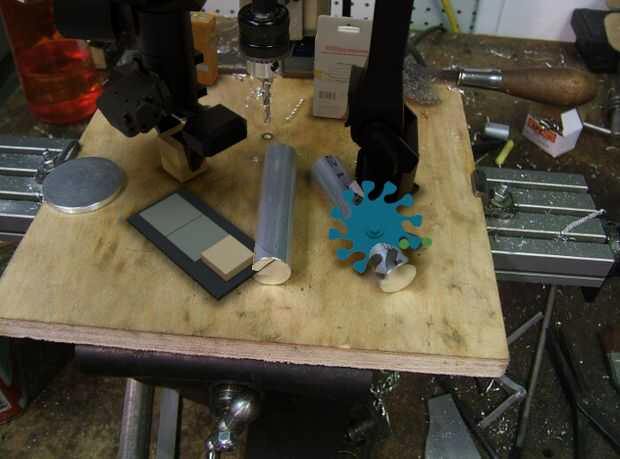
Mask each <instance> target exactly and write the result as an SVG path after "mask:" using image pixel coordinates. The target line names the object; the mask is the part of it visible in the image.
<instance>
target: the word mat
mask: <svg viewBox="0 0 620 459" xmlns="http://www.w3.org/2000/svg"><path fill="white" fill-rule="evenodd" d="M126 221H127V222H128V223H129V224H130V225H131V226H132V227H134V228H135V230H137V231H138V232H139V233H140V234H141V235H142V236H144V237H145V238H146V239H147V240H148V241H150V243H152V244H153V245H154V246H155V247H156V248H157V249H159V251H161V252H162V253H163V254H164V255H166V256H167V257H168V258H169V259H170V260H171V261H172V262H173V263H175V264H176V265H177V266H178V267H179V268H180V269H181V270H183V272H185V273H186V274H187V275H188V276H189V277H190V278H191V279H193V280H194V281H195V282H196V283H197V284H198V285H200V286H201V287H202V288H203V289H204V290H205V291H206V292H208V293H209V294H210V295H211V296H212V297H213V298H214V299H216V300H217V301H219V300H221V299H222V298H223V297H225V296H226V295H228V294H229V293H230V292H232V291H233V290H235V289H237V287H239V286H241V285H242V284H243V283H245V282H246V281H247V280H249V279H250V278H252V277H253V276H254V275H256V274H257V273H259V271H255V270H252V265H253V256H254V247H255V242H256V240H254V239H253V238H252V237H250V236H249V235H248V234H246V233H245V232H243V231H242V230H241V229H240V228H238V227H237V226H236V225H234V224H233V223H232V222H231V221H229V220H228V219H227V218H226V217H224V216H223V215H222V214H220V213H219V212H217V211H216V210H215V209H214V208H213V207H211V206H210V205H208V204H207V203H206V202H204V201H203V200H202V199H201V198H199V197H198V196H197V195H195V194H194V193H192V192H191V191H190V190H189V189H188V188H186V187H185V186H181V187H180V188H179V189H176V190H175V191H173V192H172V193H169V194H168V195H165V196H164V197H162V198H161V199H159V200H157V201H156V202H153V203H151V204H150V205H148V206H146V207H144V208H142V209H141V210H139V211H138V212H135V213H134V214H132V215H130V216H128V217H126Z"/></svg>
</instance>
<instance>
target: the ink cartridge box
mask: <svg viewBox="0 0 620 459" xmlns="http://www.w3.org/2000/svg"><path fill="white" fill-rule="evenodd" d="M372 22H373V19H367V18H359V17H358V18H357V17H349V16H334V15H325V14H320V15H318V17H317V27H316V28H317V29H316V35H315V39H314V64H313V65H314V67H313V93H312V116H314V117H319V118H320V117H321V118H331V119H340V120H345V115H346V108H347V100H348V86H349V79H350V72H351V65H355V66H359V67H364V64H365V62H366V59H367V57H368V54H369V48H370V39H371V30H372ZM349 25H350V26H349Z"/></svg>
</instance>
